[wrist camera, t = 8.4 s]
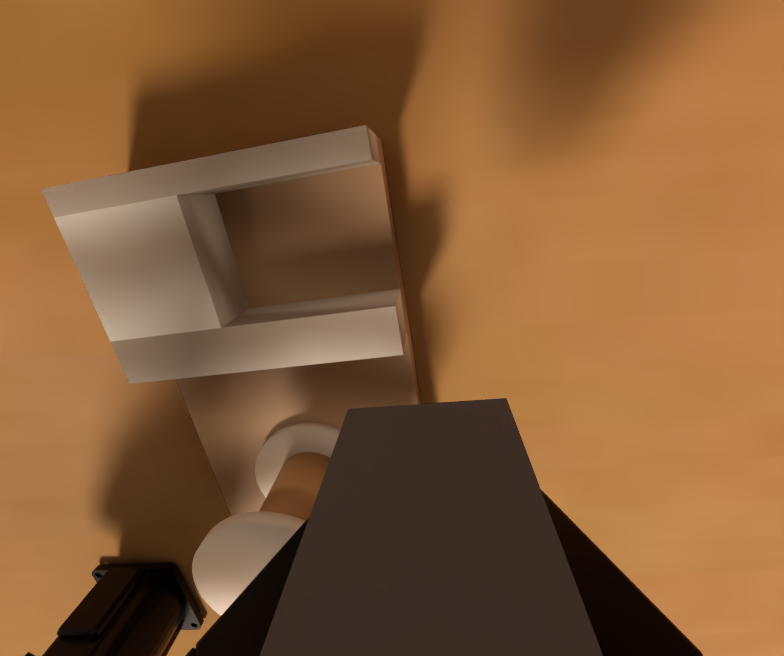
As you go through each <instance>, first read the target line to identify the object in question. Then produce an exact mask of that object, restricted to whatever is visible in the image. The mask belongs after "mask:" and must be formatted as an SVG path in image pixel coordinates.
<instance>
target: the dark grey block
mask: <svg viewBox="0 0 784 656" xmlns="http://www.w3.org/2000/svg"><path fill="white" fill-rule="evenodd" d="M260 656H603V654H602V651H601V649H600V646H599V643H598V641H597V638H596V635H595V633H594V630H593V627H592V625H591V622H590V619H589V617H588V614H587V612H586V609H585V606H584V604H583V601H582V598H581V596H580V593H579V590H578V588H577V585H576V582H575V580H574V577H573V574H572V572H571V569H570V566H569V564H568V561H567V558H566V556H565V553H564V550H563V548H562V545H561V542H560V540H559V537H558V534H557V532H556V529H555V526H554V524H553V521H552V518H551V516H550V513H549V511H548V508H547V505H546V503H545V500H544V497H543V495H542V492H541V489H540V487H539V484H538V481H537V479H536V476H535V473H534V471H533V468H532V465H531V463H530V460H529V457H528V455H527V452H526V449H525V447H524V444H523V441H522V439H521V436H520V433H519V431H518V428H517V425H516V423H515V420H514V417H513V415H512V412H511V409H510V407H509V404H508V402H507V399H506V398H503V399H488V400H473V401H458V402H443V403H427V404H412V405H397V406H382V407H367V408H352V409H348V410H347V413H346V416H345V419H344V422H343V424H342V427H341V430H340V433H339V436H338V438H337V441H336V444H335V447H334V449H333V452H332V455H331V458H330V461H329V463H328V466H327V469H326V472H325V475H324V477H323V480H322V483H321V486H320V489H319V491H318V494H317V497H316V500H315V503H314V505H313V508H312V511H311V514H310V517H309V519H308V522H307V525H306V528H305V531H304V533H303V536H302V539H301V542H300V545H299V547H298V550H297V553H296V556H295V558H294V561H293V564H292V567H291V570H290V572H289V575H288V578H287V581H286V584H285V586H284V589H283V592H282V595H281V598H280V600H279V603H278V606H277V609H276V612H275V614H274V617H273V620H272V623H271V626H270V628H269V631H268V634H267V637H266V640H265V642H264V645H263V648H262V651H261V653H260Z"/></svg>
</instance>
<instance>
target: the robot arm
mask: <svg viewBox="0 0 784 656" xmlns="http://www.w3.org/2000/svg"><path fill="white" fill-rule="evenodd" d="M541 492H542V495H543V497H544V500H545V503H546V505H547V508H548V511H549V513H550V516H551V518H552V521H553V524H554V526H555V529H556V532H557V534H558V537H559V540H560V542H561V545H562V548H563V550H564V553H565V556H566V558H567V561H568V564H569V566H570V569H571V572H572V574H573V577H574V580H575V582H576V585H577V588H578V590H579V593H580V596H581V598H582V601H583V604H584V606H585V609H586V612H587V614H588V617H589V619H590V622H591V625H592V627H593V630H594V633H595V635H596V638H597V641H598V643H599V646H600V649H601V651H602V654H603V656H703V654H702V653H701V651H700V650H699V649H698V648H697V647H696V646H695V645H694V644H693V643H692V642H691V641H690V640H689V639H688V638H687V637H686V636H685V635H684V634H683V633H682V632H681V631H680V630H679V629H678V628H677V627H676V626H675V625H674V624H673V623H672V622H671V621H670V620H669V619H668V618H667V617H666V616H665V615H664V614H663V613H662V612H661V611H660V610H659V609H658V608H657V607H656V606H655V605H654V604H653V603H652V602H651V601H650V600H649V599H648V598H647V597H646V596H645V595H644V594H643V593H642V591H641V590H640V589H639V588H638V587H637V586H636V585H635V584H634V583H633V582H632V581H631V580H630V579H629V578H628V577H627V576H626V575H625V574H624V573H623V572H622V571H621V570H620V569H619V568H618V567H617V566H616V565H615V564H614V563H613V562H612V561H611V560H610V559H609V558H608V557H607V556H606V555H605V554H604V553H603V552H602V551H601V550H600V549H599V548H598V547H597V546H596V545H595V544H594V543H593V542H592V541H591V540H590V539H589V538H588V537H587V536H586V535H585V534H584V533H583V532H582V531H581V530H580V529H579V528H578V527H577V526H576V524H575V523H574V522H573V521H572V520H571V519H570V518H569V517H568V516H567V515H566V514H565V513H564V512H563V511H562V510H561V509H560V508H559V507H558V506H557V505H556V504H555V503H554V502H553V501H552V500H551V499H550V498H549V497H548V496H547V495H546V494H545V493H544V492H543V491H542V490H541ZM309 517H310V516H309ZM309 517H308V519H309ZM308 519H307V520H306V521H305V522H304V523H303V524H302V525H301V526H300V528H299V529H298V530H297V531H296V532H295V533H294V534H293V535H292V537H291V538H290V539H289V540H288V541H287V542H286V543H285V544H284V546H283V547H282V548H281V549H280V550H279V551H278V552H277V553H276V555H275V556H274V557H273V558H272V559H271V560H270V561H269V562H268V564H267V565H266V566H265V567H264V568H263V569H262V570H261V571H260V573H259V574H258V575H257V576H256V577H255V578H254V579H253V580H252V582H251V583H250V584H249V585H248V586H247V587H246V588H245V589H244V591H243V592H242V593H241V594H240V595H239V596H238V597H237V598H236V600H235V601H234V602H233V603H232V604H231V605H230V606H229V607H228V609H227V610H226V611H225V612H224V613H223V614H222V615H221V616H220V618H219V619H218V620H217V621H216V622H215V623H214V624H213V625H212V627H211V628H210V629H209V630H208V631H207V632H206V633H205V634H204V636H203V637H202V638H201V639H200V640H199V641H198V642H197V644H196V649H195V648H192V649H191V650H190V651H189V652H188V653H187V654H186V656H260V653H261V651H262V648H263V645H264V642H265V640H266V637H267V634H268V631H269V628H270V626H271V623H272V620H273V617H274V614H275V612H276V609H277V606H278V603H279V600H280V598H281V595H282V592H283V589H284V586H285V584H286V581H287V578H288V575H289V572H290V570H291V567H292V564H293V561H294V558H295V556H296V553H297V550H298V547H299V545H300V542H301V539H302V536H303V533H304V531H305V528H306V525H307V522H308ZM92 576H93V577H94V579H95V580H96V582H97V584H96V585H95V586H94V587H93V588H92V590H91V591H90V592H89V593H88V594H87V596H86V597H85V598H84V599H83V600H82V602H81V603H80V604H79V605H78V606H77V608H76V609H75V610H74V611H73V612H72V614H71V615H70V616H69V617H68V618H67V620H66V621H65V622H64V623H63V624H62V626H61V627H60V628H59V630H58V631H57V635H58V637H57V638H56V640H55V641H54V642H53V643H52V644H51V646H50V647H49V648H48V649H47V651H46V652H45V653H44V654H43V655H42V656H166V655H167V653H168V652H169V650H170V648H171V646H172V644H173V643H174V641H175V639H176V637H177V635H178V634H179V632H180V630H197V629H200V628H201V626H202V624H203V622H204V620H203V618H202V616H201V614H200V612H199V610H198V608H197V606H196V604H195V602H194V600H193V598H192V596H191V594H190V592H189V590H188V588H187V586H186V584H185V582H184V580H183V578H182V576H181V574H180V572H179V570H178V568H177V567H176V566H175V565H174V564H171V563H157V564H122V565H98V566H97V567H96V568H95V569H94V570H93V572H92ZM25 656H35V655H33V654H31V653H29V652H28V653H27V654H26V655H25Z"/></svg>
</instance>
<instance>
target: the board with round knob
mask: <svg viewBox="0 0 784 656" xmlns="http://www.w3.org/2000/svg"><path fill="white" fill-rule="evenodd" d="M41 190H42V192H43V195H44V197H45V199H46V201H47V203H48V206H49V208H50V210H51V212H52V214H53V217H54V219H55V221H56V223H57V225H58V228H59V230H60V232H61V234H62V236H63V239H64V241H65V243H66V245H67V247H68V249H69V252H70V254H71V256H72V258H73V260H74V263H75V265H76V267H77V269H78V271H79V274H80V276H81V278H82V280H83V282H84V285H85V287H86V289H87V291H88V293H89V296H90V298H91V300H92V302H93V304H94V307H95V309H96V311H97V313H98V315H99V318H100V320H101V322H102V324H103V326H104V329H105V331H106V333H107V335H108V337H109V340H110V342H111V344H112V346H113V348H114V351H115V353H116V355H117V357H118V359H119V362H120V364H121V366H122V368H123V370H124V373H125V375H126V377H127V379H128V381H129V384H134V383H143V382H152V381H162V380H171V379H176V381H177V383H178V386H179V388H180V391H181V393H182V396H183V398H184V401H185V403H186V406H187V408H188V411H189V413H190V415H191V418H192V420H193V423H194V425H195V428H196V430H197V433H198V435H199V438H200V440H201V443H202V445H203V448H204V450H205V453H206V455H207V458H208V460H209V462H210V465H211V467H212V470H213V472H214V475H215V477H216V480H217V482H218V485H219V487H220V490H221V492H222V495H223V497H224V500H225V502H226V504H227V507H228V509H229V512H230V514H231V517H228V518H226V519H224V520H222V521H221V522H219V523H218V524H216V525H215V526H214V527H213V528H212V529H211V530H210V531H209V532H208V534H207V535H206V537H205V538H204V540H203V541H202V543H201V545H200V546H199V548H198V549H197V551H196V553H195V555H194V558H193V563H192V574H193V579H194V582H195V585H196V587H197V589H198V591H199V593H200V595H201V596H202V597H203V599H204V600H205V601H206V603H207V604H208V605H209V606H210V607H211V608H212V609H213V610H214V611H216V612H217V613H218V614H219V615H220V616H221V615H222V614H223V613H224V612H225V611H226V610H227V609H228V607H229V606H230V605H231V604H232V603H233V602H234V601H235V600H236V598H237V597H238V596H239V595H240V594H241V593H242V592H243V591H244V589H245V588H246V587H247V586H248V585H249V584H250V583H251V582H252V580H253V579H254V578H255V577H256V576H257V575H258V574H259V573H260V571H261V570H262V569H263V568H264V567H265V566H266V565H267V564H268V562H269V561H270V560H271V559H272V558H273V557H274V556H275V555H276V553H277V552H278V551H279V550H280V549H281V548H282V547H283V546H284V544H285V543H286V542H287V541H288V540H289V539H290V538H291V537H292V535H293V534H294V533H295V532H296V531H297V530H298V529H299V528H300V526H301V525H302V524H303V523H304V522H305V521H306V520H307V519H308V517H309V516H310V514H311V511H312V508H313V505H314V503H315V500H316V497H317V494H318V491H319V489H320V486H321V483H322V480H323V477H324V475H325V472H326V469H327V466H328V463H329V461H330V458H331V455H332V452H333V449H334V447H335V444H336V441H337V438H338V436H339V433H340V430H341V427H342V424H343V422H344V419H345V416H346V413H347V410H348V409H352V408H367V407H382V406H397V405H412V404H421V400H420V394H419V387H418V380H417V374H416V367H415V361H414V354H413V347H412V341H411V334H410V328H409V321H408V314H407V308H406V301H405V294H404V288H403V281H402V275H401V268H400V261H399V255H398V248H397V242H396V235H395V228H394V222H393V215H392V209H391V202H390V195H389V189H388V182H387V176H386V169H385V162H384V156H383V149H382V143H381V139H380V138H379V137H378V136H377V135H376V134H375V133H374V132H373V131H372V130H371V129H370V128H369V127H368V126H367V125H363V126H358V127H353V128H348V129H343V130H338V131H333V132H328V133H322V134H317V135H312V136H307V137H302V138H297V139H292V140H287V141H282V142H277V143H272V144H267V145H262V146H256V147H251V148H246V149H241V150H236V151H231V152H226V153H221V154H216V155H211V156H206V157H201V158H196V159H191V160H185V161H180V162H175V163H170V164H165V165H160V166H155V167H150V168H145V169H140V170H135V171H130V172H125V173H120V174H114V175H109V176H104V177H99V178H94V179H89V180H84V181H79V182H74V183H69V184H64V185H59V186H54V187H49V188H43V189H41Z"/></svg>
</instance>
